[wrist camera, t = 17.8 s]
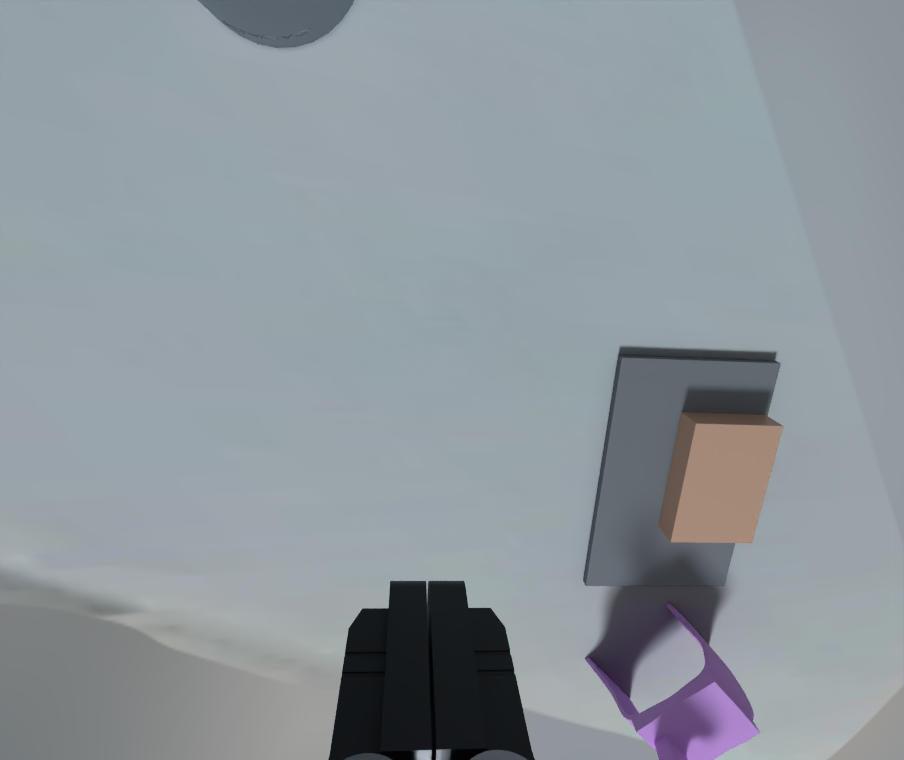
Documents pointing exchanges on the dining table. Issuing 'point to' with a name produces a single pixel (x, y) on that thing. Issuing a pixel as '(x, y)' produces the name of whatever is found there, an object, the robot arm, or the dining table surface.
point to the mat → (662, 466)
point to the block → (718, 477)
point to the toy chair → (692, 711)
